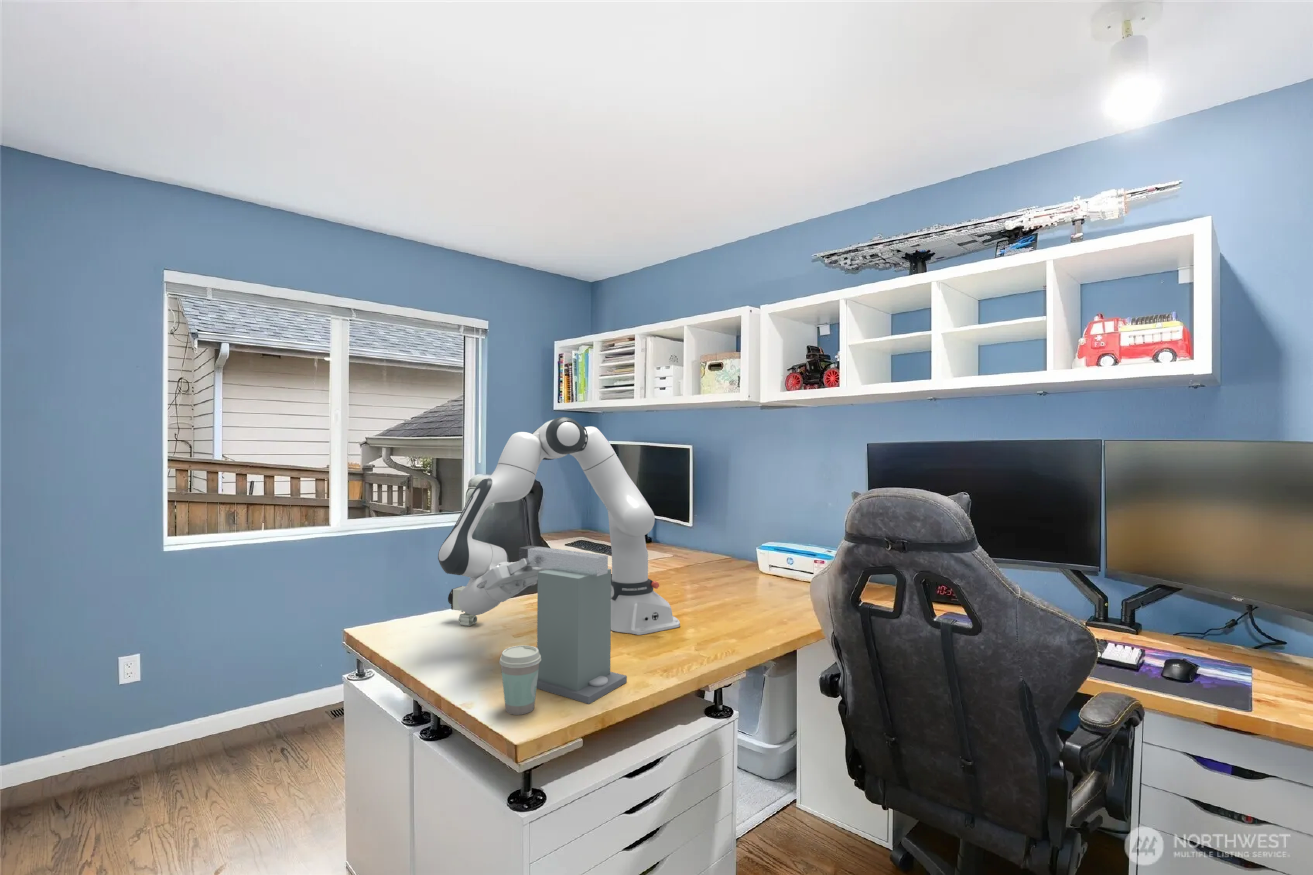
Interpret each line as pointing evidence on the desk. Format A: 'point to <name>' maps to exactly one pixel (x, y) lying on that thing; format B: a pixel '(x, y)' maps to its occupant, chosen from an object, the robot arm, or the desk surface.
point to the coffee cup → (520, 678)
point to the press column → (575, 635)
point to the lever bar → (565, 560)
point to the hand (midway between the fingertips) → (540, 557)
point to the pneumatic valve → (463, 618)
